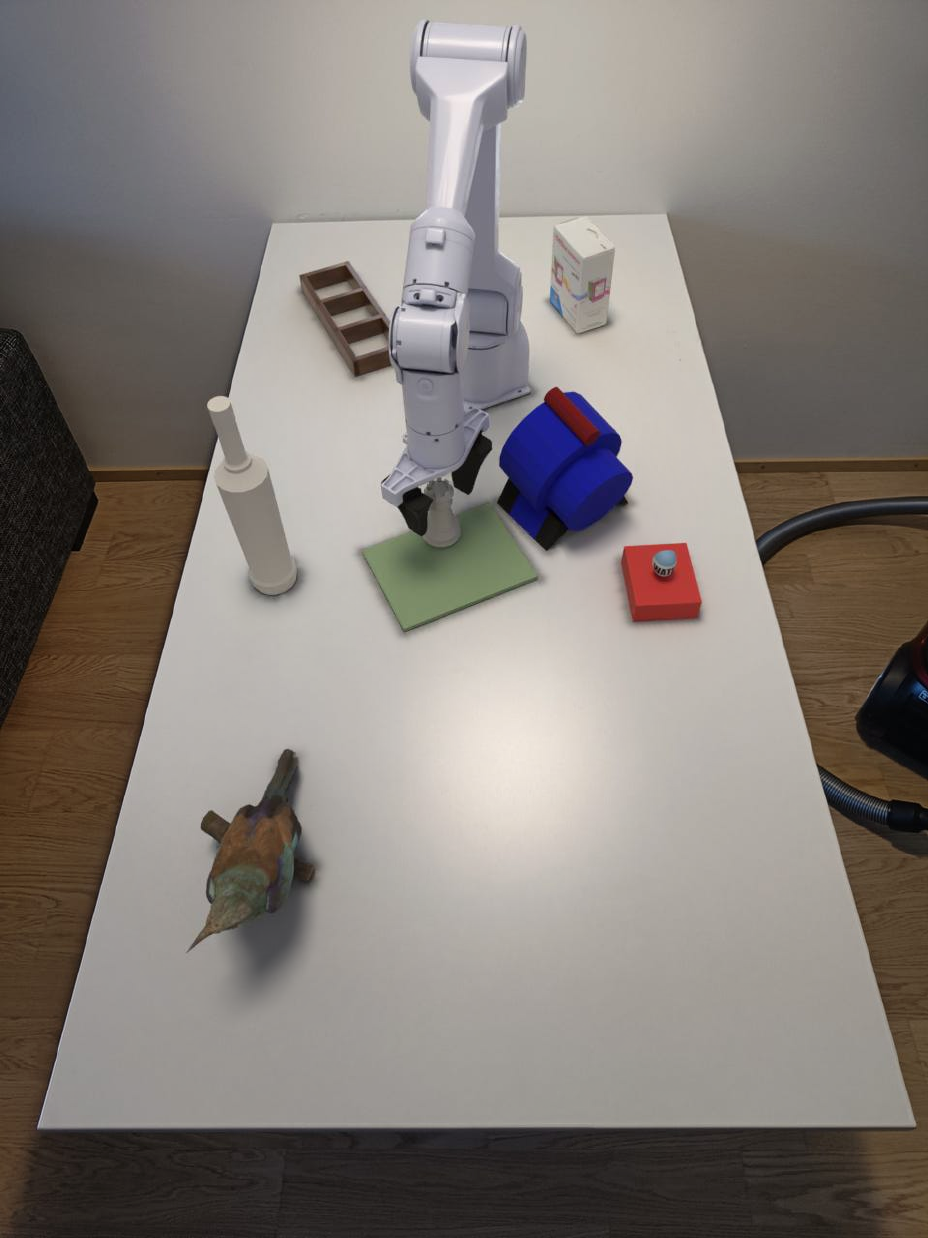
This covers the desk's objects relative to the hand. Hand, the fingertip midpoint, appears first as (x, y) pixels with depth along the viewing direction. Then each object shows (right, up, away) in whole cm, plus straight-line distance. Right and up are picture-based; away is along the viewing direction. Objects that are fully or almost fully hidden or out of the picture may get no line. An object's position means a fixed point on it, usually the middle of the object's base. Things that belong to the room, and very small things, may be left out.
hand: (440, 509), depth 97 cm
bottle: (-18, -7, +1) cm, 20 cm away
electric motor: (+14, +1, +6) cm, 16 cm away
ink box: (+18, +31, +27) cm, 45 cm away
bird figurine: (-16, -34, -17) cm, 41 cm away
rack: (-13, +29, +27) cm, 42 cm away
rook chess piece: (0, -2, +4) cm, 4 cm away
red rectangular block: (+24, -9, -1) cm, 25 cm away
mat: (+1, -6, +2) cm, 6 cm away
